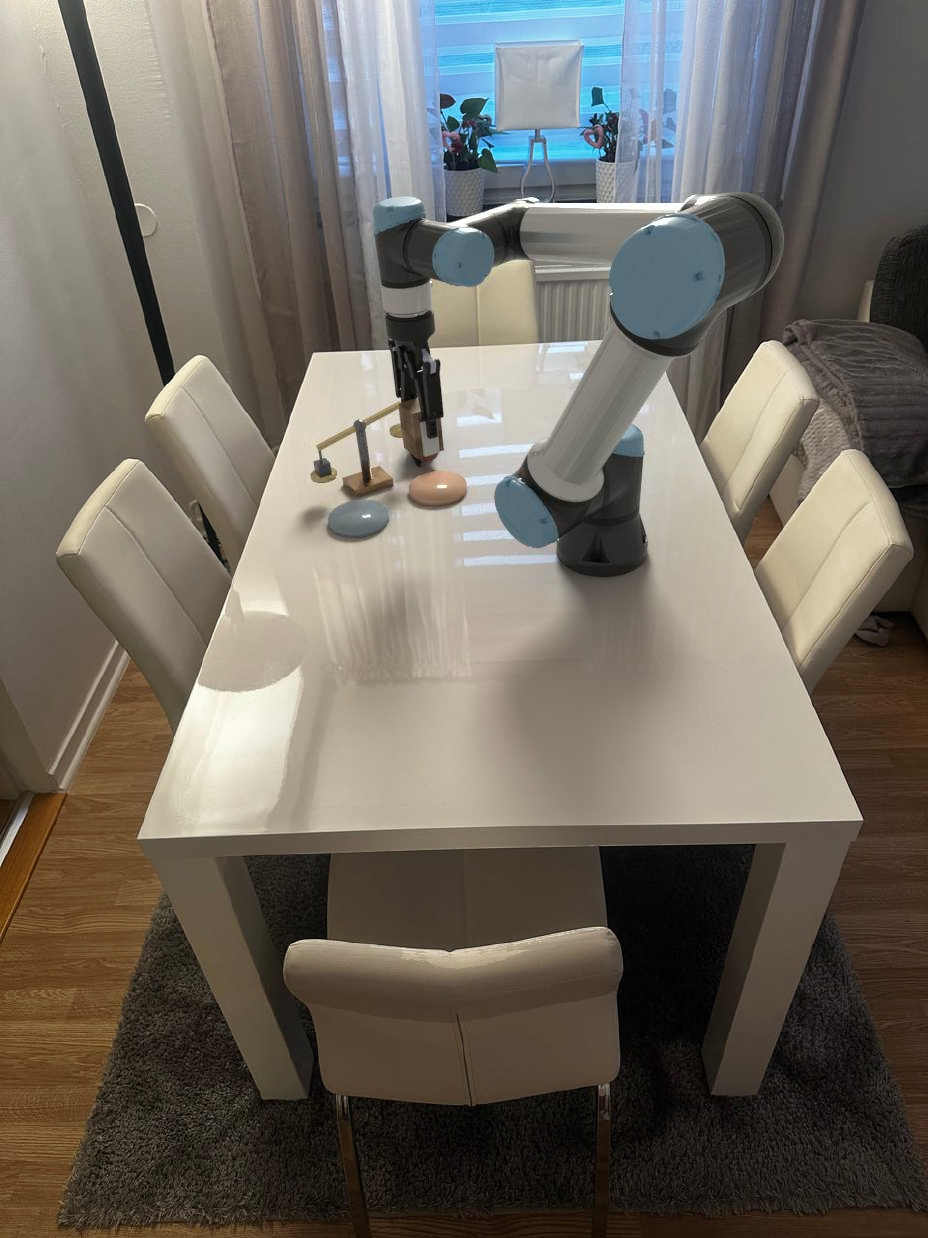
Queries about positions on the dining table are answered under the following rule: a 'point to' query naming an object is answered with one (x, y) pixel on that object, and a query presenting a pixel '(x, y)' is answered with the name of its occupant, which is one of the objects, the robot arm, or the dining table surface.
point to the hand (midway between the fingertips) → (423, 446)
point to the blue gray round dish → (358, 518)
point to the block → (415, 428)
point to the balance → (369, 476)
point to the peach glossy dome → (437, 488)
